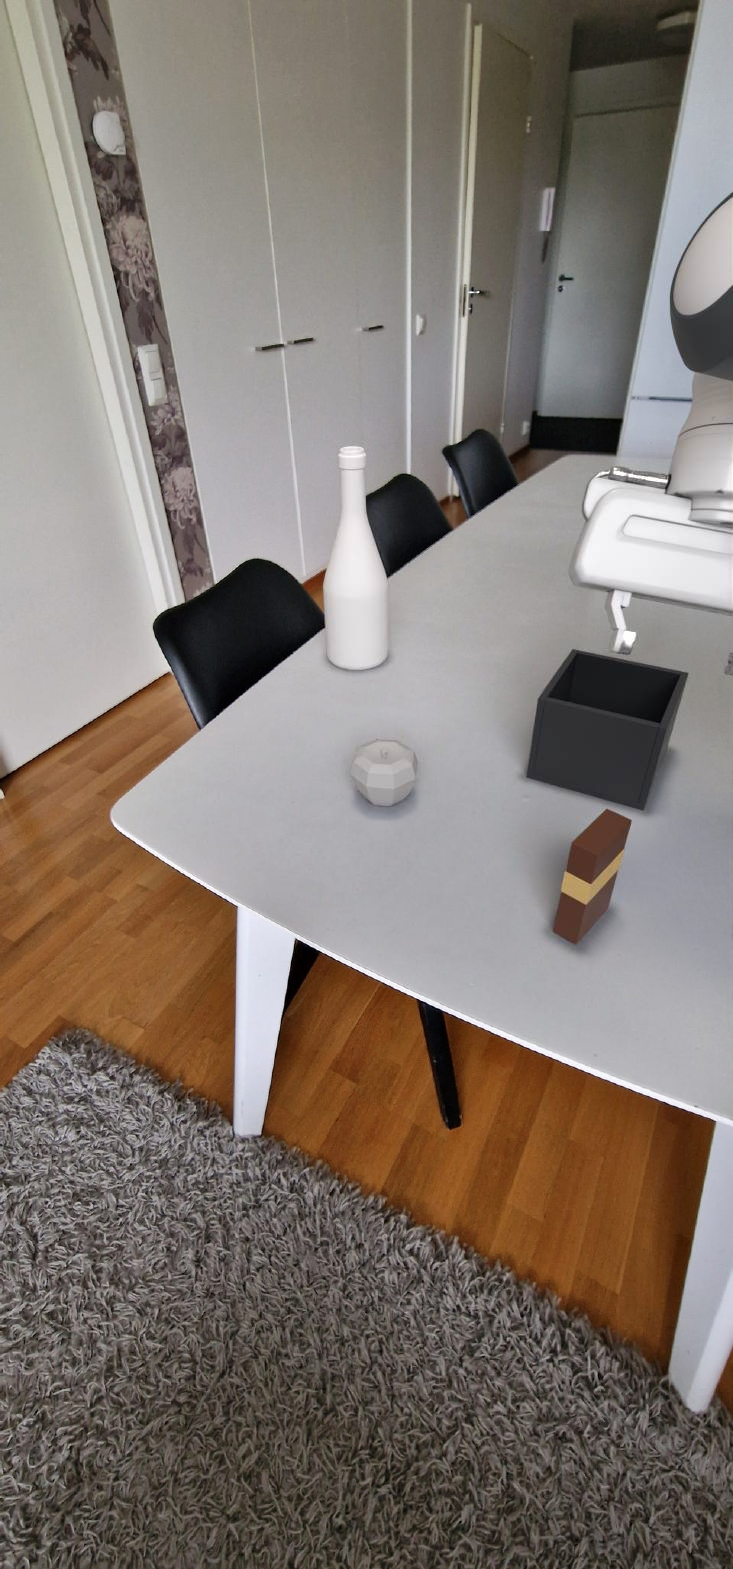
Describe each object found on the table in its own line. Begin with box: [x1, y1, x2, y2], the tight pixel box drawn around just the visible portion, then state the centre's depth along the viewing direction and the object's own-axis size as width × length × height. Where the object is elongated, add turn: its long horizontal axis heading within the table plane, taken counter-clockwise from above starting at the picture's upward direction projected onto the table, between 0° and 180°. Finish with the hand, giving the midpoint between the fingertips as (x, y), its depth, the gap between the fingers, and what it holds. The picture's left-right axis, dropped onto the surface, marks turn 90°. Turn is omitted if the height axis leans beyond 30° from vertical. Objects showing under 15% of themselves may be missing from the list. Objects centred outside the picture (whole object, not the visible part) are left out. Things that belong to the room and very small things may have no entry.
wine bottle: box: [322, 445, 389, 671], centre depth 100 cm, size 10×10×30 cm
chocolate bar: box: [552, 808, 633, 946], centre depth 62 cm, size 2×6×11 cm, turn 137°
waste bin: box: [525, 648, 689, 811], centre depth 82 cm, size 14×14×11 cm
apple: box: [349, 738, 419, 807], centre depth 79 cm, size 8×8×7 cm
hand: (677, 664), depth 56 cm, fingers open, 8 cm apart
